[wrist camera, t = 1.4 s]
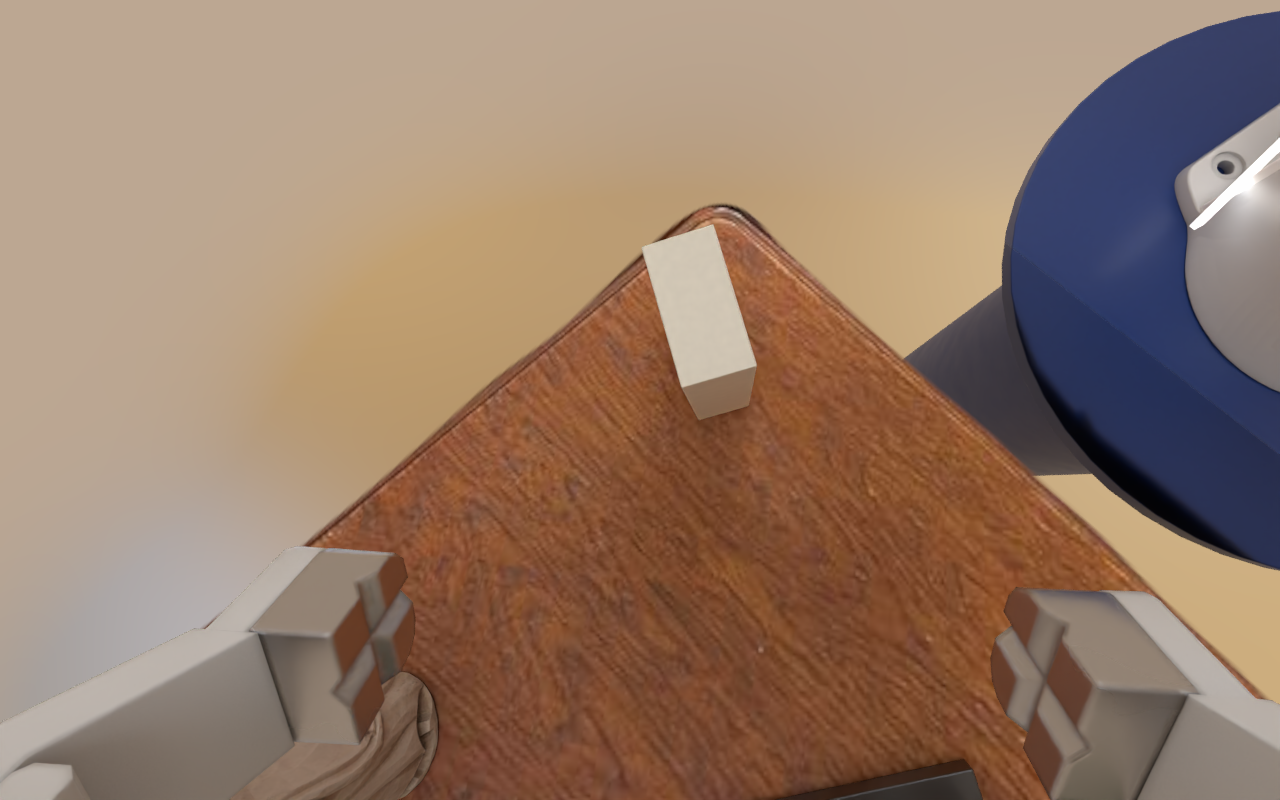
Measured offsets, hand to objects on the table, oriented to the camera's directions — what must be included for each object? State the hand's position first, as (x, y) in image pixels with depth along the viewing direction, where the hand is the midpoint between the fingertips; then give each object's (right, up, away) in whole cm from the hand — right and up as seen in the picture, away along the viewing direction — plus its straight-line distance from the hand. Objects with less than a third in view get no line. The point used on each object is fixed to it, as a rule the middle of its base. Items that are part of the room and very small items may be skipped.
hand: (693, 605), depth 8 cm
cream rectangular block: (+3, +5, +27) cm, 28 cm away
